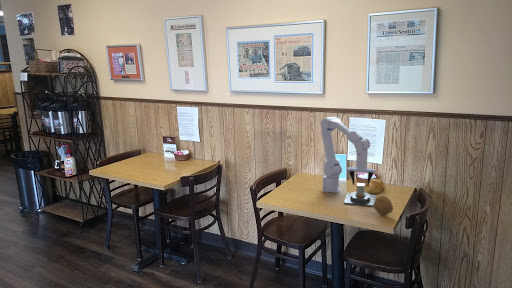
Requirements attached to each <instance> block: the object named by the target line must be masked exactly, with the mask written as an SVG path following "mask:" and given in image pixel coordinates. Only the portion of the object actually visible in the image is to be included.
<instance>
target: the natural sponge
mask: <svg viewBox="0 0 512 288" xmlns="http://www.w3.org/2000/svg"><path fill="white" fill-rule="evenodd" d="M373 208H374V210H375V211H376V212H377V214H379V215H380V216H386V215H389V214H392V213H393V210H394V206H393V204H392V202H391V200H390V198H389V197H387V196H386V195H380V196H378V197H376V200H375V202H374V207H373Z"/></svg>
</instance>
